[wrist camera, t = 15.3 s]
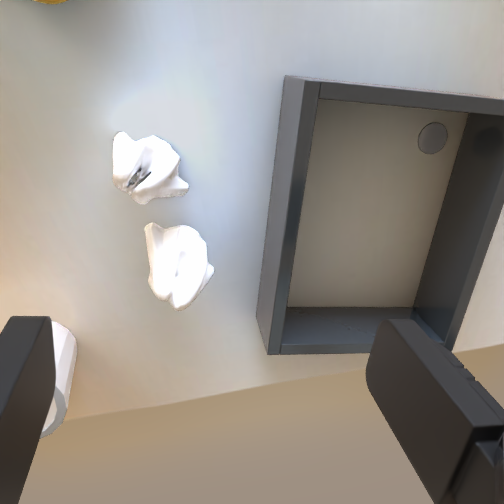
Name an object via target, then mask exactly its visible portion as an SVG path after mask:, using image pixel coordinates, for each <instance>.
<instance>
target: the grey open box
mask: <svg viewBox="0 0 504 504" xmlns="http://www.w3.org/2000/svg"><path fill="white" fill-rule="evenodd" d="M318 98H319V99H328V100H339V101H349V102H360V103H371V104H381V105H392V106H402V107H413V108H424V109H434V110H445V111H455V112H466V113H469V116H468V120H467V123H466V126H465V130H464V133H463V137H462V140H461V144H460V147H459V150H458V154H457V157H456V161H455V164H454V168H453V171H452V175H451V178H450V181H449V185H448V188H447V192H446V195H445V199H444V202H443V205H442V209H441V212H440V216H439V219H438V223H437V226H436V230H435V233H434V236H433V240H432V243H431V247H430V250H429V254H428V257H427V260H426V264H425V267H424V271H423V274H422V278H421V281H420V285H419V288H418V291H417V295H416V298H415V302H414V305H413V308H403V307H287V301H288V294H289V288H290V281H291V275H292V268H293V261H294V255H295V248H296V242H297V235H298V229H299V222H300V215H301V209H302V202H303V196H304V189H305V183H306V176H307V169H308V163H309V156H310V150H311V143H312V137H313V130H314V123H315V117H316V110H317V104H318ZM446 141H447V130H446V128H445V127H444V126H443V125H442V124H439V123H432V124H429V125H427V126H426V127H425V128H424V129H423V130H422V131H421V133H420V135H419V138H418V145H419V148H420V150H421V151H422V152H424V153H426V154H434V153H436V152H438V151H440V150H441V149H442V148H443V146H444V145H445V143H446ZM503 204H504V98H498V97H491V96H483V95H473V94H464V93H454V92H444V91H435V90H425V89H415V88H405V87H396V86H386V85H376V84H367V83H357V82H347V81H338V80H328V79H318V78H309V77H298V76H289V75H285V77H284V85H283V94H282V102H281V110H280V119H279V127H278V135H277V144H276V152H275V160H274V169H273V177H272V186H271V194H270V202H269V211H268V219H267V227H266V236H265V244H264V252H263V261H262V269H261V277H260V286H259V294H258V303H257V311H256V318H257V322H258V325H259V328H260V332H261V335H262V339H263V342H264V345H265V349H266V352H267V355H279V354H280V355H291V354H345V353H370V352H371V349H372V345H373V342H374V338H375V335H376V332H377V328H378V325H379V323H380V322H381V321H382V320H384V319H411V320H413V321H415V322H416V323H417V324H418V325H419V326H420V327H421V329H422V330H423V331H424V332H425V333H426V334H427V335H428V337H429V338H430V339H433V340H435V341H436V342H438V343H439V344H441V345H442V346H444V347H445V348H447V349H448V350H450V351H452V350H453V347H454V344H455V341H456V338H457V335H458V333H459V330H460V327H461V324H462V321H463V318H464V315H465V313H466V310H467V307H468V304H469V301H470V298H471V295H472V293H473V290H474V287H475V284H476V281H477V278H478V276H479V273H480V270H481V267H482V264H483V261H484V258H485V256H486V253H487V250H488V247H489V244H490V241H491V238H492V236H493V233H494V230H495V227H496V224H497V221H498V219H499V216H500V213H501V210H502V207H503Z"/></svg>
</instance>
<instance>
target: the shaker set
mask: <svg viewBox="0 0 504 504" xmlns="http://www.w3.org/2000/svg"><path fill="white" fill-rule="evenodd" d="M113 141H114V145H113V167H114V171H113V178H112V179H113V183H114V185H115V186H116V187H117V188H119V189H120V190H122V191H125V192H127V193H129V194H130V196H131V198H132V199H133V200H135V201H136V202H137V203H139V204H142V205H144V204H146V203H148V202H149V201H150V200H151V199H152V198H155V197H158V198H160V197H175V196H183V195H185V193H187V191H188V189H189V184H188V183H186V182H184V181H183V180H182V179H181V178H180V177H179V176H178V173H179V171H178V165H179V162H180V161H181V159H180V157H179V155H178V154H177V153H176V152H175V151H174V150H173V149H172V147H171V144H169V143H166V141H165V140H164V141H163V140H162V139H159V138H158V137H155V135H152V136H150V137H149V138H143V139H141V140H139V141H137V142H135V141H133V140H132V139H131V138H130V137H129V136H128V135H127V134H126V133H125V132H119V133H117V135H116V136H115V138H114V139H113ZM139 168H143V169H142V171H141V172H140V173H138V172H137V170H139ZM150 171H151V172H152V173H151V174H150V175H149V176H148V177H147V178H146V179H145V180H144V181H143V182H142V183H141V184H140V185H137V183H138V181H139V180H140V179H142V178H144V176H145V175H147V174H148V173H149V172H150ZM136 172H137V177H136V183H134V182H133V181H132V180H131V178H132V176H133V175H134V174H135V173H136ZM185 190H186V191H185ZM184 191H185V192H184ZM182 193H183V194H182ZM180 194H181V195H180ZM144 231H145V234H146V242H147V250H148V258H149V264H150V269H151V271H150V275H149V279H148V283H149V285H150V287H151V289H152V291H153V292H154V294H155V295H156V297H157V298H159V299H160V300H161V301H166V300H167V301H169V303H170V304H171V306H172V307H173V308H174V309H175V310H177V311H182V310H184V309H185V308H187V307H188V306H189V305H190V304H191V303H192V302H193V301H194V300H195V299H196V298H197V296H198V295H199V294H200V292H201V291H202V290H203V289H204V287H205V286H206V285H207V283H208V281H209V280H210V279H211V277H212V276H213V274H214V272H215V269H214V267H213V266H212V265H210V264H209V262H208V260H207V244H206V243H205V241H204V240H203V239H202V238H201V237H200V235H199V233H198V232H197V231H196V230H195V229H193V228H191V227H189V226H185V225H179V226H175V227H170V228H163V227H161V226H159V225H158V224H156V223H149V224H148V225H147V226H146V227H145V228H144Z"/></svg>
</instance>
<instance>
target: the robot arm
mask: <svg viewBox="0 0 504 504" xmlns="http://www.w3.org/2000/svg"><path fill="white" fill-rule="evenodd" d="M366 381H367V386H368V389H369V391H370V392H371V395H372V396H373V398H374V400H375V401H376V403H377V405H378V407H379V408H380V410H381V412H382V414H383V415H384V417H385V419H386V421H387V422H388V424H389V426H390V428H391V429H392V431H393V433H394V434H395V436H396V438H397V440H398V441H399V443H400V445H401V447H402V448H403V450H404V452H405V454H406V455H407V457H408V459H409V460H410V462H411V464H412V466H413V467H414V469H415V471H416V473H417V474H418V476H419V478H420V480H421V481H422V483H423V485H424V486H425V488H426V490H427V492H428V494H429V495H430V497H431V499H432V500H433V502H434V504H504V409H503V408H502V407H501V406H500V405H499V403H498V402H497V401H496V400H495V399H494V398H493V397H492V396H491V395H490V394H489V393H488V391H487V390H486V389H485V388H484V387H483V386H482V385H481V384H480V383H479V382H478V381H475V377H474V376H473V375H472V374H471V373H470V372H469V371H468V370H467V369H464V365H463V364H462V363H461V362H460V361H459V360H458V359H457V358H456V357H455V355H454V354H453V353H452V352H451V351H450V350H448V349H447V348H445V347H444V346H442V345H441V344H439V343H438V342H436V341H435V340H433V339H430V338H429V337H428V335H427V334H426V333H425V332H424V331H423V330H422V329H421V327H420V326H419V325H418V324H417V323H416V322H415V321H413V320H411V319H384V320H382V321H381V322H380V323H379V325H378V328H377V332H376V335H375V338H374V342H373V345H372V349H371V352H370V356H369V359H368V363H367V366H366ZM55 384H56V365H55V353H54V342H53V330H52V322H51V318H50V317H49V316H12V317H11V318H10V319H9V320H8V322H7V324H6V325H5V327H4V329H3V330H2V332H1V334H0V504H18V502H19V499H20V496H21V493H22V490H23V487H24V484H25V481H26V478H27V475H28V472H29V469H30V466H31V463H32V460H33V457H34V454H35V451H36V448H37V445H38V442H39V439H40V436H41V433H42V430H43V427H44V424H45V421H46V418H47V415H48V412H49V409H50V406H51V403H52V400H53V396H54V391H55Z"/></svg>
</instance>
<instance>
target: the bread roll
mask: <svg viewBox="0 0 504 504" xmlns="http://www.w3.org/2000/svg"><path fill="white" fill-rule="evenodd" d="M33 1H37V2H40V3H45V4H59V3H63V2H65V1H68V0H33Z"/></svg>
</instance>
